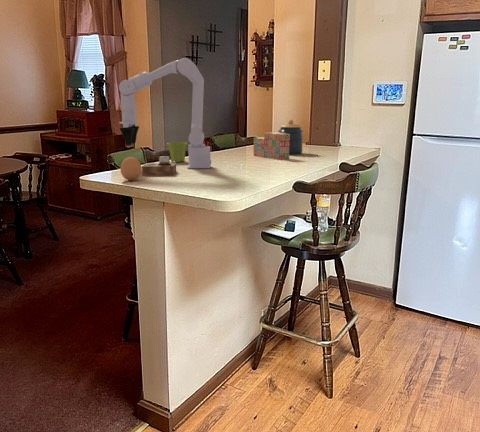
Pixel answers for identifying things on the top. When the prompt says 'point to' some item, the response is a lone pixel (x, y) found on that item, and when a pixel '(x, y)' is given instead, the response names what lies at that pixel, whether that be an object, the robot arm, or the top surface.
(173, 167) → the socket block
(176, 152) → the plant pot
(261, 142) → the stack of blocks
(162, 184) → the top surface
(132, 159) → the egg
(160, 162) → the peg
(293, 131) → the canister
